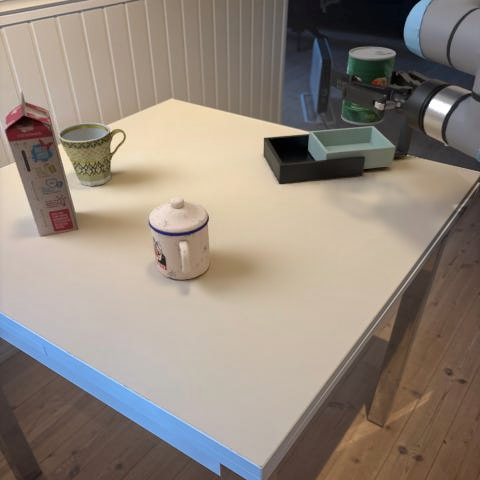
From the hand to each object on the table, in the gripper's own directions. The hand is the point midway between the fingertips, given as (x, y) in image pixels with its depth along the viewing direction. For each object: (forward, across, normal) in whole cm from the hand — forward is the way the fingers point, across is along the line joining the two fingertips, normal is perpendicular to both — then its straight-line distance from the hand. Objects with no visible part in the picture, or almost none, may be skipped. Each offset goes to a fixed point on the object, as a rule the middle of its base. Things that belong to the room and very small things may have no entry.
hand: (352, 73), depth 90 cm
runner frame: (+7, -3, -20) cm, 21 cm away
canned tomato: (-5, 0, -7) cm, 8 cm away
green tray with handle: (+4, +8, -19) cm, 21 cm away
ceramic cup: (+22, -45, -20) cm, 54 cm away
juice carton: (+7, -57, -20) cm, 61 cm away
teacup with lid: (-17, -42, -20) cm, 49 cm away
